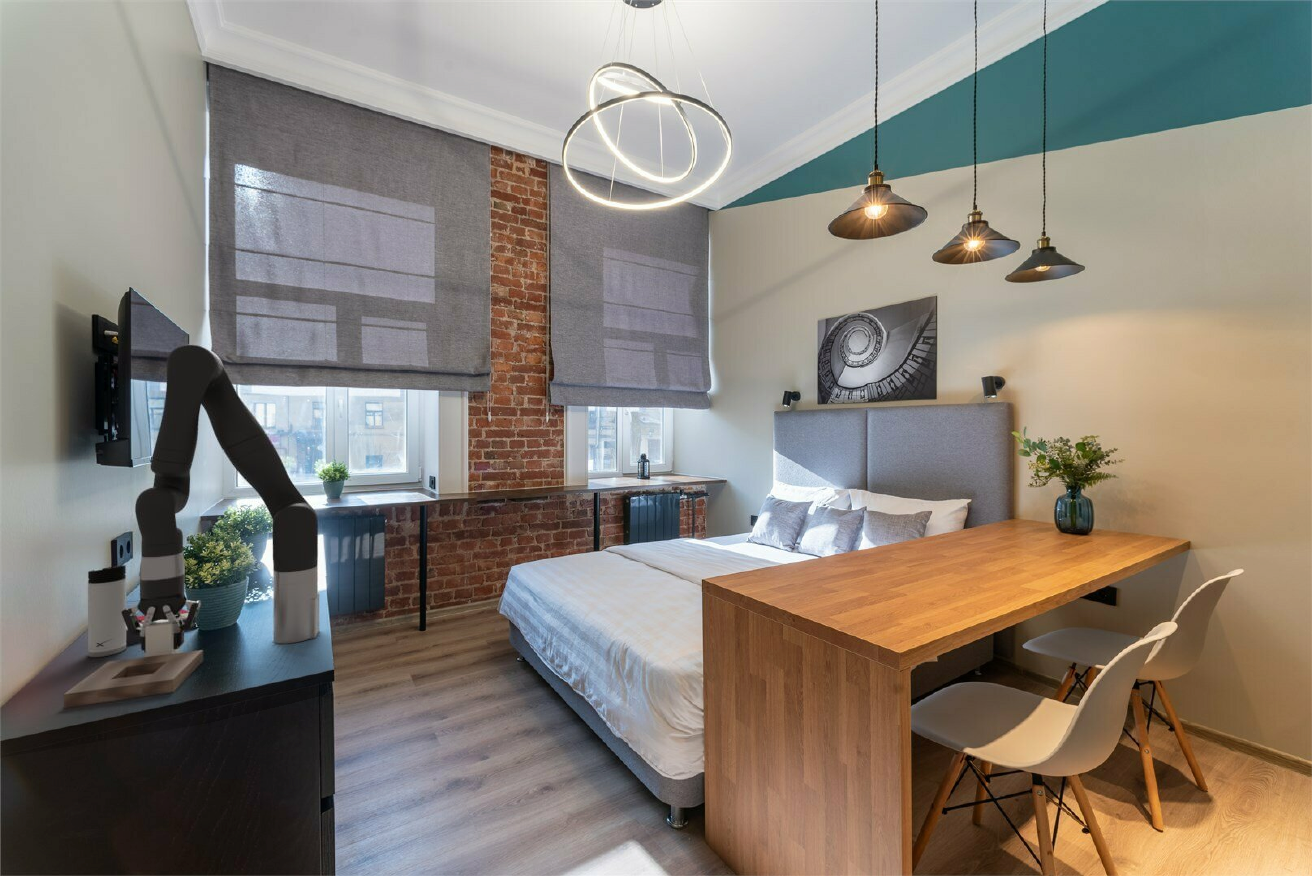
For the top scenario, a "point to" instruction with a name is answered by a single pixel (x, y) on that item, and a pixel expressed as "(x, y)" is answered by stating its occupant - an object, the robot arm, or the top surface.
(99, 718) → the top surface
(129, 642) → the calculator
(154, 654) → the peg
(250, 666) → the top surface
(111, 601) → the travel mug
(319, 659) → the top surface
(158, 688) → the socket base
